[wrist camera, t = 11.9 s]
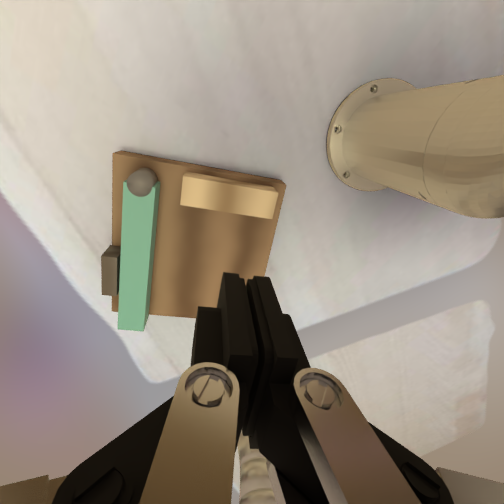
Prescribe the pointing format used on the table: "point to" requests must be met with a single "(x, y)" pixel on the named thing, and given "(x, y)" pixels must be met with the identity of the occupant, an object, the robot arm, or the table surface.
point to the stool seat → (196, 231)
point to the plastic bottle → (253, 475)
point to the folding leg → (137, 248)
